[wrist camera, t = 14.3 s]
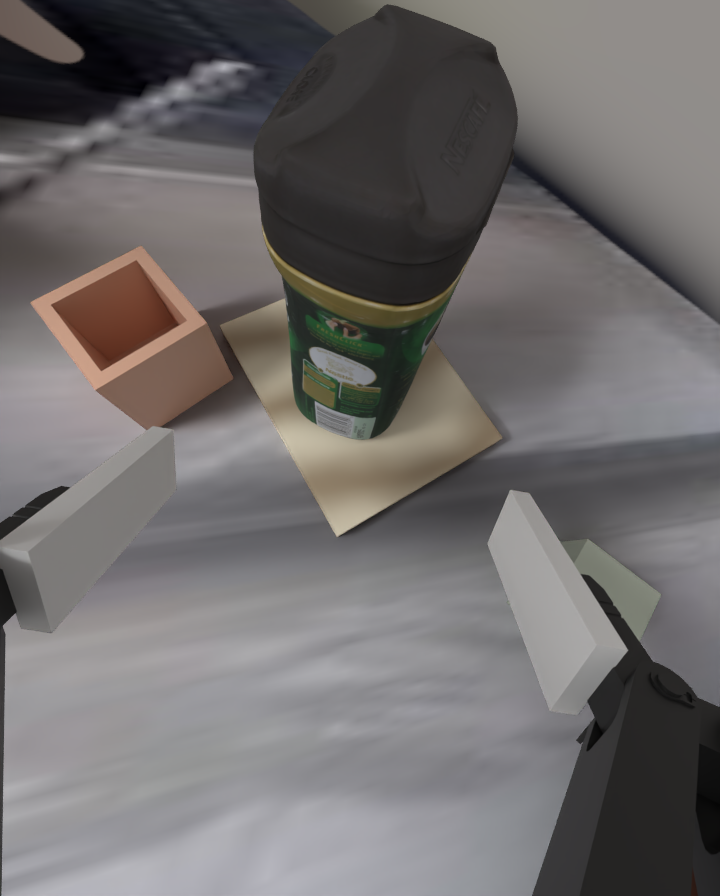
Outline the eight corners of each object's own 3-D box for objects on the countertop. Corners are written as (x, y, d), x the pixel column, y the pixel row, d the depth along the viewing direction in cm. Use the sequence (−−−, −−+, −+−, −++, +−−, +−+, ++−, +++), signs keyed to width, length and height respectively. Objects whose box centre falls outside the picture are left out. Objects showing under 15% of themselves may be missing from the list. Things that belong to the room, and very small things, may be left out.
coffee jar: (331, 311, 30) (342, -55, 12) (424, 349, 30) (571, 30, 12) (276, 415, 27) (186, 127, 9) (379, 458, 27) (488, 247, 9)
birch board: (223, 334, 30) (219, 325, 29) (374, 270, 33) (376, 260, 32) (337, 537, 26) (337, 535, 25) (495, 443, 29) (502, 438, 28)
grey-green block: (506, 602, 26) (547, 610, 21) (541, 543, 27) (587, 538, 22) (568, 652, 25) (625, 672, 20) (601, 589, 27) (661, 594, 22)
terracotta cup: (99, 364, 28) (30, 302, 22) (181, 316, 30) (141, 245, 23) (151, 433, 27) (95, 390, 20) (233, 379, 29) (207, 322, 22)
